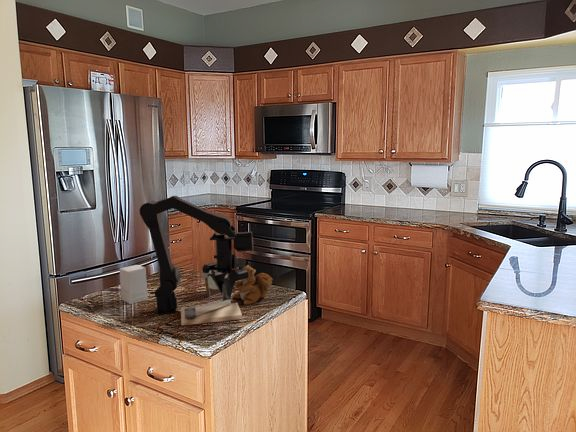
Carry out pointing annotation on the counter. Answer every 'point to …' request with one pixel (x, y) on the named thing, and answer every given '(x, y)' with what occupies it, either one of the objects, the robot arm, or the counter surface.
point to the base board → (214, 315)
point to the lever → (209, 305)
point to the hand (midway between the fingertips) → (226, 294)
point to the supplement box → (133, 284)
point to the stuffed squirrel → (253, 286)
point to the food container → (211, 285)
